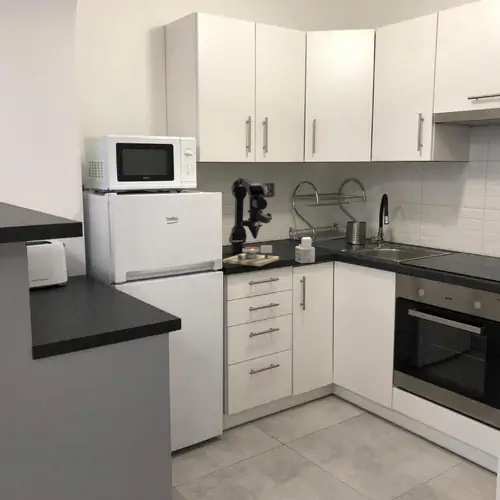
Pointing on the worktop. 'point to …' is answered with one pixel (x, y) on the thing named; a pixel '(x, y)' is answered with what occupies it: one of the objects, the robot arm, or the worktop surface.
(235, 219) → the robot arm
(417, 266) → the worktop surface
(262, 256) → the base plate
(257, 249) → the grey piece
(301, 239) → the container
